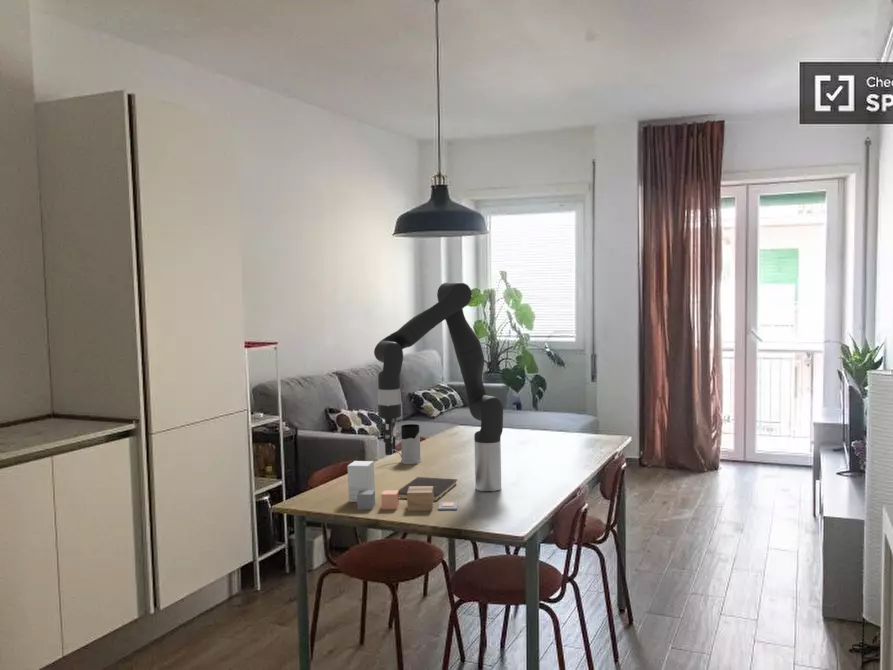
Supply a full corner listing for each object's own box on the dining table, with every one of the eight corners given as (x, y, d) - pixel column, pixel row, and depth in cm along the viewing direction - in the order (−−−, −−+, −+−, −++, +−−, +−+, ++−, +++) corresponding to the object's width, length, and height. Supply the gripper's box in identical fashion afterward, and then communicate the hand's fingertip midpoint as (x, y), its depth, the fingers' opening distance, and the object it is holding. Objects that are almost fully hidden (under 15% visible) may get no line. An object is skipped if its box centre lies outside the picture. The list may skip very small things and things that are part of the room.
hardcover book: (457, 485, 277) (457, 479, 277) (437, 502, 255) (437, 495, 255) (416, 483, 282) (416, 476, 282) (393, 499, 260) (392, 492, 260)
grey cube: (360, 505, 253) (359, 490, 252) (375, 505, 252) (374, 490, 252) (357, 509, 248) (357, 494, 247) (372, 509, 247) (372, 494, 247)
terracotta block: (384, 505, 252) (383, 490, 252) (399, 505, 252) (398, 490, 252) (381, 509, 247) (381, 494, 247) (397, 509, 247) (396, 494, 247)
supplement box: (375, 497, 262) (374, 460, 261) (368, 503, 255) (367, 465, 254) (355, 496, 264) (354, 460, 263) (348, 502, 256) (346, 465, 256)
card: (439, 503, 252) (439, 500, 252) (457, 503, 252) (457, 500, 252) (438, 510, 245) (438, 507, 244) (456, 510, 244) (456, 507, 244)
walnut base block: (409, 504, 253) (409, 486, 253) (433, 503, 253) (433, 486, 252) (407, 511, 245) (407, 492, 245) (432, 510, 245) (431, 492, 244)
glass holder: (420, 463, 311) (420, 427, 310) (386, 464, 311) (385, 428, 310) (422, 459, 319) (421, 423, 318) (388, 459, 320) (387, 424, 319)
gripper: (381, 399, 254) (382, 447, 255) (374, 405, 240) (375, 456, 241) (403, 399, 254) (404, 447, 255) (398, 405, 239) (399, 456, 240)
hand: (390, 451), depth 248 cm, fingers open, 8 cm apart
